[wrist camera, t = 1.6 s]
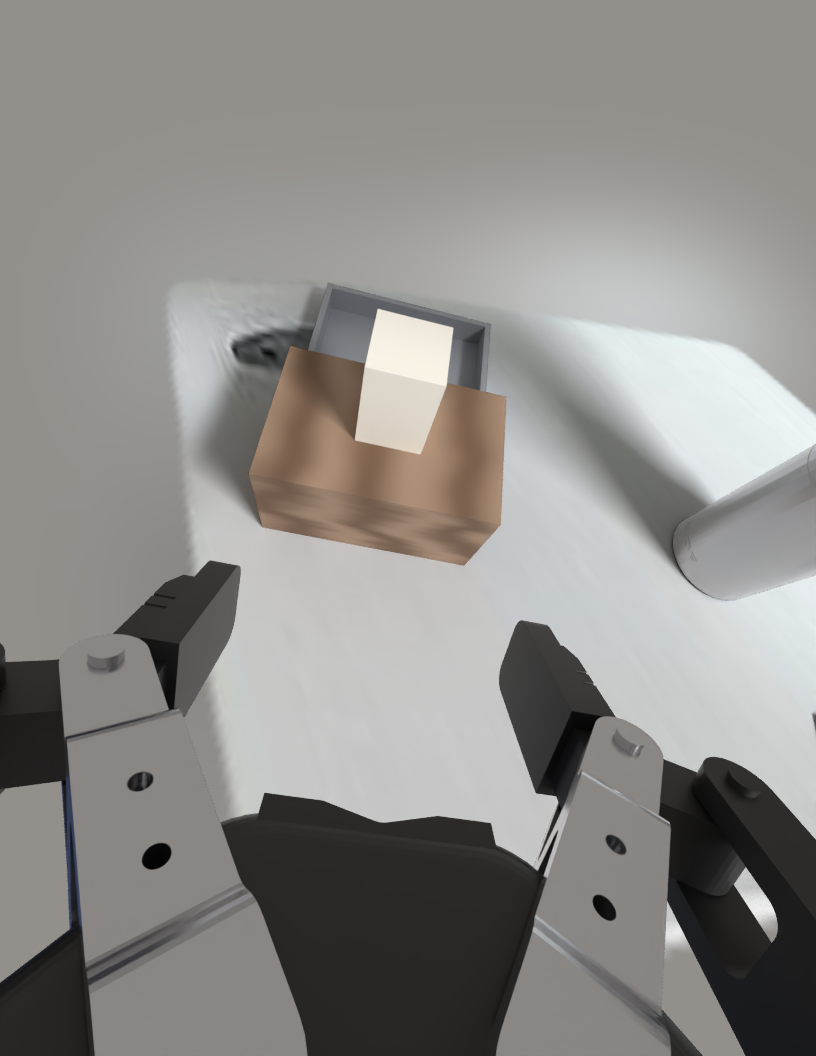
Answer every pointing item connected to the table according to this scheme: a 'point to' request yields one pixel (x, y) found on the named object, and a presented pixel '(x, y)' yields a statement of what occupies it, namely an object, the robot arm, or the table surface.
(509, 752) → the table surface
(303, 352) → the walnut platform
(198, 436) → the table surface
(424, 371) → the cream block
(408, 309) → the box
